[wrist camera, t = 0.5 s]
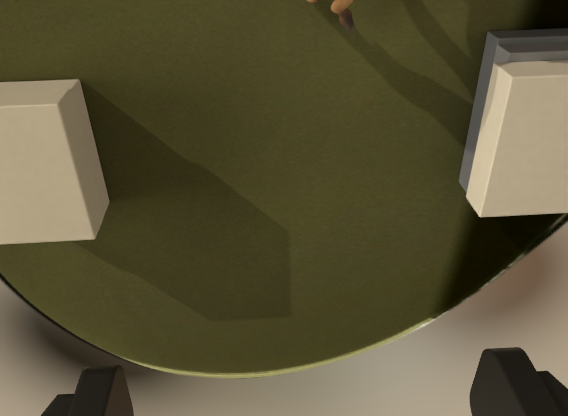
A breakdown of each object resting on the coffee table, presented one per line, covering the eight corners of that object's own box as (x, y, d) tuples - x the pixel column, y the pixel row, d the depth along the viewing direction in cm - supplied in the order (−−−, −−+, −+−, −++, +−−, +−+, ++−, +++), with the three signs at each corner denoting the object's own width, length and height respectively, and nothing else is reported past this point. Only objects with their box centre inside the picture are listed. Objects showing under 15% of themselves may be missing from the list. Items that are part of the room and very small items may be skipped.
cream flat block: (492, 62, 26) (511, 77, 24) (608, 57, 26) (636, 72, 24) (465, 196, 30) (479, 218, 29) (564, 191, 31) (585, 212, 29)
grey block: (487, 30, 28) (510, 46, 26) (567, 27, 28) (599, 43, 26) (457, 185, 34) (474, 210, 31) (525, 182, 34) (547, 207, 31)
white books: (-35, 77, 28) (-78, 109, 24) (82, 73, 28) (58, 104, 24) (13, 206, 32) (-17, 250, 29) (113, 201, 33) (96, 244, 29)
